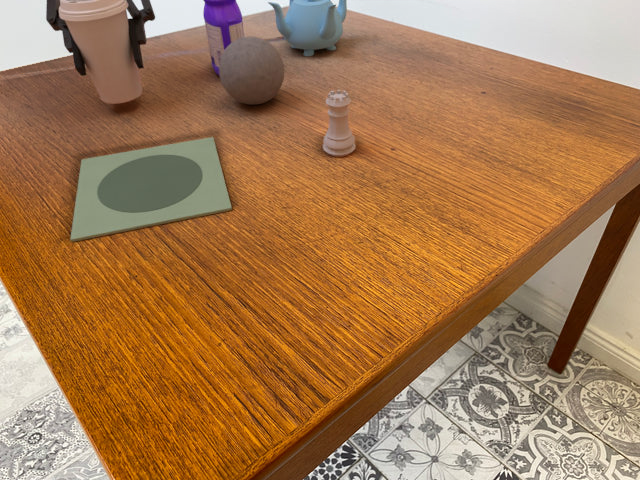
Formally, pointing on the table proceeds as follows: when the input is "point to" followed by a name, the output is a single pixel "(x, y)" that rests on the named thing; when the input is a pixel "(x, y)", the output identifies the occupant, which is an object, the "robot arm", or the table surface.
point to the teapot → (311, 24)
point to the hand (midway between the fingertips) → (110, 67)
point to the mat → (148, 188)
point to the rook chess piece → (338, 126)
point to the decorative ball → (251, 70)
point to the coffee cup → (104, 46)
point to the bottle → (222, 27)
